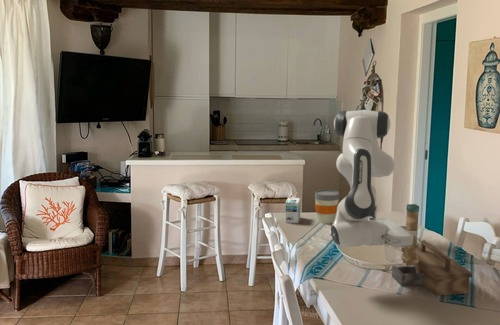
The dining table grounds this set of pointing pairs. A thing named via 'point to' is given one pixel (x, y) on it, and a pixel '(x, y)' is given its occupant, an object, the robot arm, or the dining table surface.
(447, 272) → the toolbox
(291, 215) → the light bulb box
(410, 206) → the wooden key
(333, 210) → the reusable coffee cup
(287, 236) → the dining table surface
